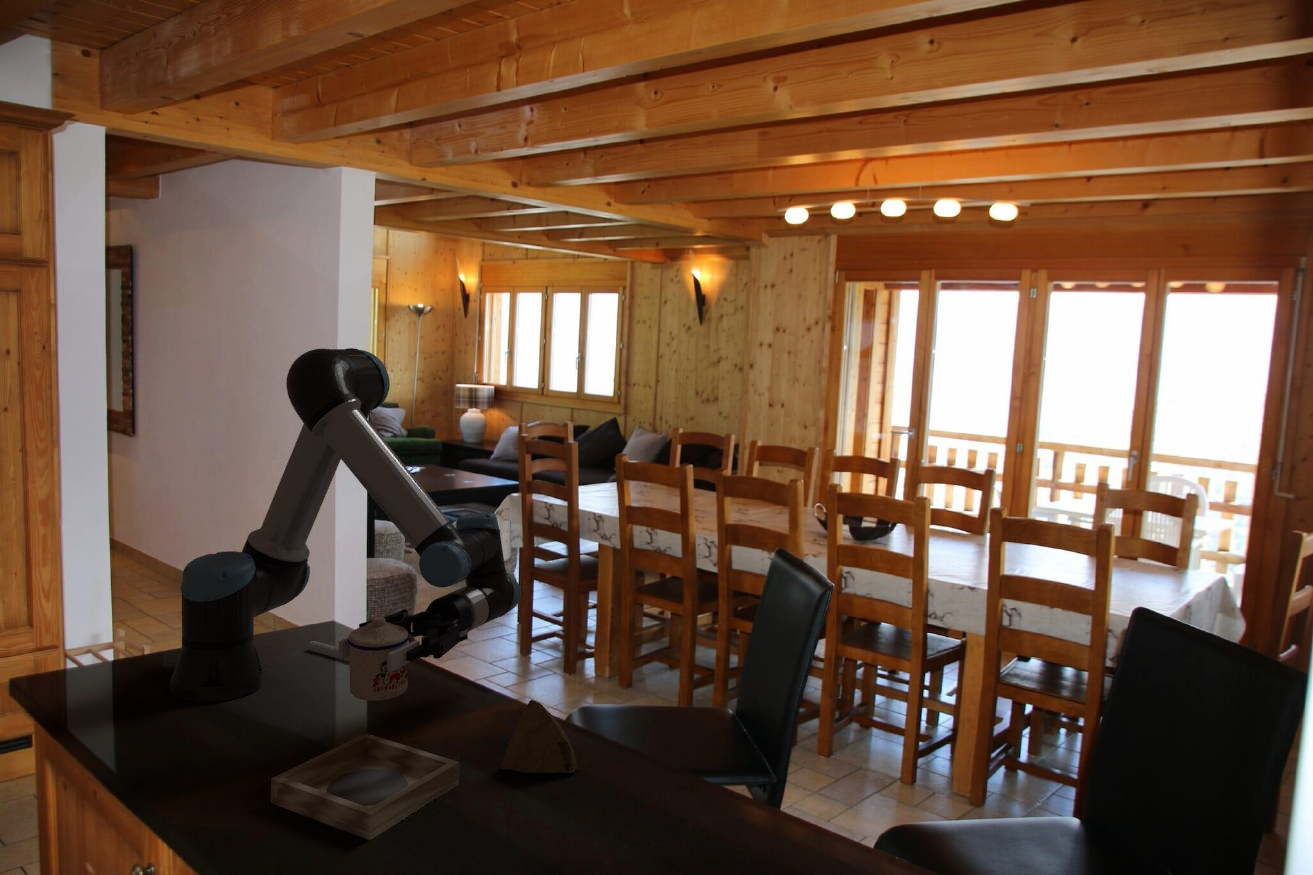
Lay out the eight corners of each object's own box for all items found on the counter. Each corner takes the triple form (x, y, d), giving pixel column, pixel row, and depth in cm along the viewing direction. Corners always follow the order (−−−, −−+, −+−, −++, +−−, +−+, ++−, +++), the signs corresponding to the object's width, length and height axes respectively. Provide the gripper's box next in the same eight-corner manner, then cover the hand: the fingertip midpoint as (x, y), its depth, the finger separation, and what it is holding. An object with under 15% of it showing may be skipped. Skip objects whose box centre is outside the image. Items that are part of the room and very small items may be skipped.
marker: (381, 668, 183) (381, 656, 183) (373, 671, 181) (373, 659, 181) (315, 649, 191) (315, 638, 191) (307, 652, 189) (307, 640, 189)
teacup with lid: (377, 707, 140) (376, 633, 138) (335, 692, 144) (334, 620, 143) (434, 681, 150) (435, 611, 148) (394, 667, 155) (394, 599, 153)
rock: (595, 751, 146) (549, 724, 151) (580, 720, 140) (533, 693, 146) (551, 809, 140) (505, 778, 146) (533, 779, 135) (486, 749, 140)
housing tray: (270, 802, 129) (271, 778, 128) (365, 754, 145) (366, 733, 144) (369, 840, 121) (370, 814, 120) (458, 785, 137) (459, 762, 137)
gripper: (508, 646, 158) (421, 695, 138) (407, 623, 167) (311, 665, 147) (509, 603, 157) (421, 646, 137) (407, 582, 166) (310, 619, 146)
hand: (364, 656), depth 142 cm, fingers closed on teacup with lid, 9 cm apart
